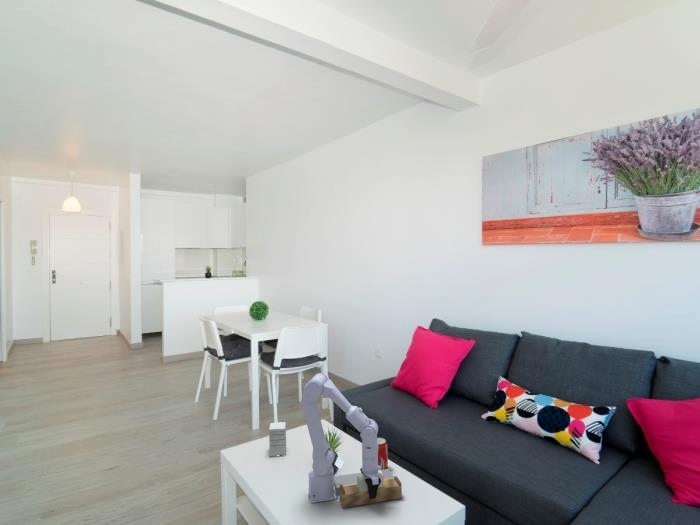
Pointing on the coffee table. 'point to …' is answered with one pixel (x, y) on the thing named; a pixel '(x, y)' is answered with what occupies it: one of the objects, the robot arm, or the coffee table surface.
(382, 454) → the soda can
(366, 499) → the brown wooden long block
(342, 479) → the dock
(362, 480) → the block
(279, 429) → the supplement box
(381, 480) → the cream cube
